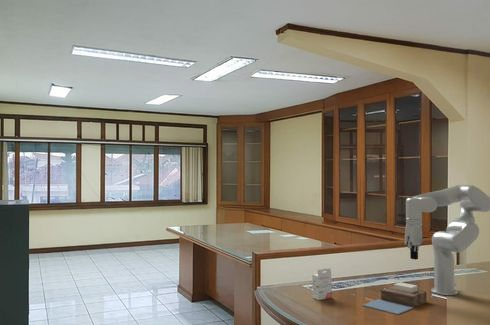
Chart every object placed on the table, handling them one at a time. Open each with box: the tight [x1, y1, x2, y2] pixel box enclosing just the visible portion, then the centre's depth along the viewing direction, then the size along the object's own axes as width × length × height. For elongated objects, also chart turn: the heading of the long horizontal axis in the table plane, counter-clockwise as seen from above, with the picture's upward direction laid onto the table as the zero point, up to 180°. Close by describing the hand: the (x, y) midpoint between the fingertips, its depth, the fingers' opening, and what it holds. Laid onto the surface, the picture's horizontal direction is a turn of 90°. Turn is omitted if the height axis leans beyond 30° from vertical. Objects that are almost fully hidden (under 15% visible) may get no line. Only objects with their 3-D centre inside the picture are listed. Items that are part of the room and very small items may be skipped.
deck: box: [380, 285, 427, 308], centre depth 213 cm, size 14×16×5 cm
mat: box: [362, 298, 415, 316], centre depth 203 cm, size 14×18×1 cm
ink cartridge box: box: [311, 267, 333, 301], centre depth 219 cm, size 9×5×15 cm, turn 117°
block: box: [393, 281, 418, 293], centre depth 215 cm, size 6×9×2 cm, turn 42°
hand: (414, 258), depth 221 cm, fingers closed
